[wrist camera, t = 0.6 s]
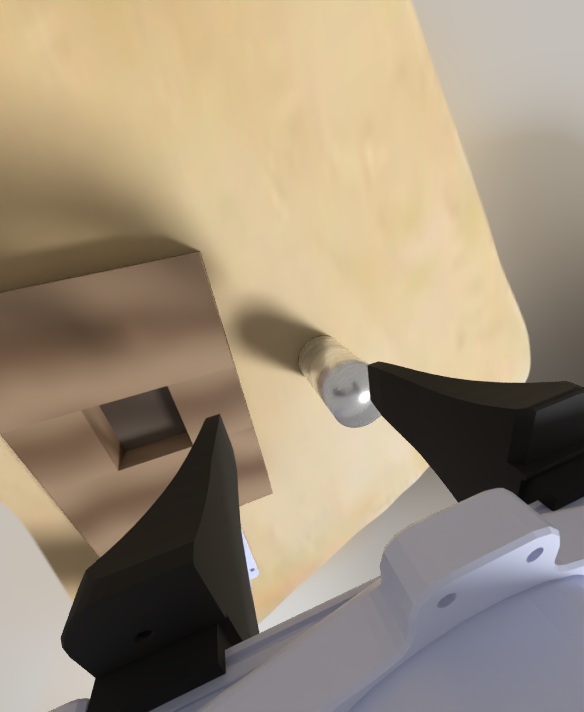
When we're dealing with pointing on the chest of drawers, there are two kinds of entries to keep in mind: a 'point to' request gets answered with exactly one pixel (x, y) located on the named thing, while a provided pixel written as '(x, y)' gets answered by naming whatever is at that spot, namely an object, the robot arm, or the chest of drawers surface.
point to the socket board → (119, 389)
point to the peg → (339, 380)
